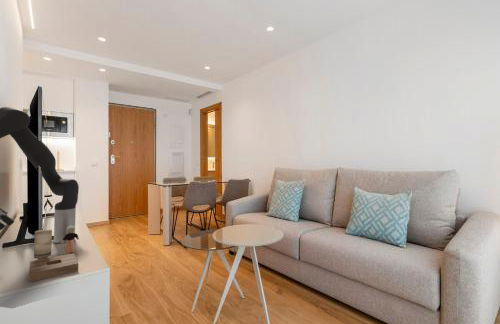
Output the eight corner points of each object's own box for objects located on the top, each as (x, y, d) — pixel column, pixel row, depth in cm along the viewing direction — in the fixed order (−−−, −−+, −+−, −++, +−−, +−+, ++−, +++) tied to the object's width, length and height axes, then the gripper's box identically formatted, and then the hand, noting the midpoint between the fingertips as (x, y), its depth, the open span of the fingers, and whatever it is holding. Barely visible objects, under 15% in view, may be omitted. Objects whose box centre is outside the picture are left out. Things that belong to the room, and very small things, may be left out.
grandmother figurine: (66, 256, 111) (67, 227, 111) (59, 255, 112) (59, 227, 112) (81, 250, 118) (81, 224, 119) (74, 250, 119) (75, 223, 119)
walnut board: (29, 269, 97) (30, 261, 97) (73, 260, 106) (73, 253, 106) (29, 281, 86) (30, 273, 86) (78, 271, 96) (78, 263, 96)
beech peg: (33, 261, 104) (34, 230, 104) (50, 258, 108) (51, 228, 108) (33, 265, 100) (34, 233, 100) (51, 262, 104) (52, 231, 104)
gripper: (-32, 193, 89) (9, 222, 94) (-13, 189, 102) (23, 215, 107) (-54, 208, 87) (-10, 238, 92) (-31, 203, 99) (6, 229, 104)
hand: (7, 225), depth 99 cm, fingers open, 8 cm apart
